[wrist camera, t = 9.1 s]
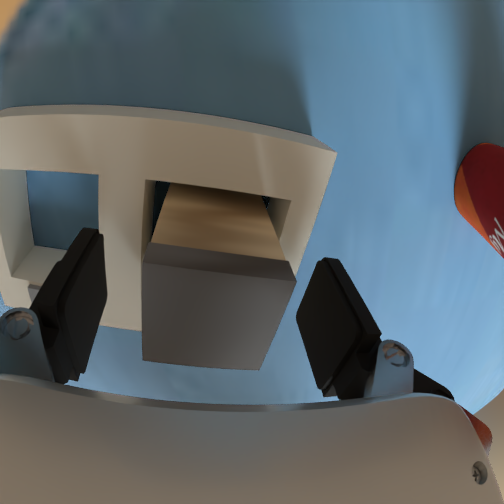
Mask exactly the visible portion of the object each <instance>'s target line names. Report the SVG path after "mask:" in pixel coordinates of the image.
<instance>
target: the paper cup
mask: <svg viewBox="0 0 504 504" xmlns="http://www.w3.org/2000/svg"><path fill="white" fill-rule="evenodd" d="M454 200H455V204H456V207H457V210H458V211H459V213H460V214H461V215H462V216H463V217H464V218H465V219H466V220H467V221H468V222H469V223H470V224H471V225H472V226H473V227H474V228H475V229H476V230H477V231H478V232H479V233H480V234H481V235H482V236H483V237H484V238H485V239H486V240H487V242H488V243H489V244H490V245H491V246H492V247H493V248H494V249H495V250H496V251H497V252H498V253H499V254H500V255H501V256H502V257H503V258H504V148H503V147H500V146H497V145H494V144H491V143H481V144H478V145H476V146H475V147H473V148H472V149H471V150H470V151H469V152H468V153H467V155H466V156H465V157H464V159H463V161H462V163H461V165H460V167H459V169H458V172H457V175H456V179H455V185H454Z"/></svg>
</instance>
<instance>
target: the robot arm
mask: <svg viewBox="0 0 504 504" xmlns="http://www.w3.org/2000/svg"><path fill="white" fill-rule="evenodd" d="M107 296H108V292H107V281H106V268H105V253H104V236H103V234H100V233H99V230H98V229H93V228H85V227H84V228H82V230H81V231H80V232H79V234H78V235H77V237H76V238H75V240H74V241H73V243H72V244H71V246H70V247H69V249H68V250H67V252H66V253H65V255H64V257H63V258H62V260H61V261H57V262H56V264H55V265H54V267H53V268H52V270H51V271H50V273H49V275H48V276H47V278H46V280H45V281H44V283H43V285H42V286H41V288H40V290H39V292H38V293H37V295H36V297H35V299H34V300H33V302H32V304H31V306H30V308H29V309H28V308H23V307H19V308H13V309H11V310H8V311H7V312H6V313H4V314H3V315H2V316H1V317H0V504H504V502H503V499H502V495H501V492H500V489H499V486H498V483H497V480H496V478H495V475H494V472H493V470H492V467H491V464H490V462H489V459H488V455H489V451H490V447H491V443H492V434H491V431H490V429H489V428H488V427H487V426H486V425H485V424H484V423H483V422H481V421H480V420H479V419H477V418H476V417H475V416H473V415H472V414H471V413H469V412H468V411H467V410H466V409H464V408H463V407H462V406H460V405H459V404H457V403H456V402H455V400H454V397H453V395H452V394H451V392H450V391H449V390H448V389H447V388H445V387H444V386H442V385H441V384H439V383H437V382H436V381H434V380H432V379H431V378H429V377H427V376H426V375H424V374H422V373H421V372H419V371H417V370H416V369H414V361H413V356H412V354H411V352H410V351H409V350H408V348H407V347H405V346H404V345H403V344H401V343H400V342H398V341H395V340H384V341H381V339H380V336H381V334H382V333H381V331H380V330H379V328H378V326H377V324H376V322H375V320H374V319H373V317H372V315H371V313H370V312H369V310H368V308H367V306H366V304H365V303H364V301H363V299H362V297H361V296H360V294H359V292H358V291H357V289H356V287H355V285H354V284H353V282H352V280H351V279H350V277H349V275H348V274H347V272H346V270H345V269H344V267H343V265H342V264H341V262H340V260H339V259H334V258H326V257H324V258H323V259H322V260H321V261H318V262H317V264H316V267H315V269H314V272H313V274H312V277H311V279H310V282H309V284H308V287H307V289H306V291H305V294H304V296H303V299H302V301H301V303H300V306H299V308H298V311H297V314H296V321H297V324H298V327H299V330H300V333H301V337H302V340H303V343H304V346H305V349H306V352H307V356H308V359H309V362H310V365H311V368H312V372H313V375H314V378H315V381H316V385H317V387H318V389H321V390H322V393H323V396H324V397H331V396H337V397H338V399H339V401H329V402H316V403H300V404H276V405H227V404H203V403H188V402H175V401H164V400H155V399H146V398H138V397H131V396H124V395H118V394H112V393H106V392H100V391H95V390H89V389H84V388H79V387H74V386H69V385H64V384H65V383H67V382H68V380H74V381H78V380H79V376H80V373H83V374H84V373H85V371H86V367H87V363H88V360H89V356H90V353H91V349H92V346H93V343H94V339H95V336H96V333H97V329H98V326H99V323H100V320H101V317H102V314H103V311H104V308H105V305H106V302H107Z"/></svg>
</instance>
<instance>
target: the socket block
mask: <svg viewBox="0 0 504 504" xmlns="http://www.w3.org/2000/svg"><path fill="white" fill-rule="evenodd" d="M336 156H337V152H336V151H334V150H333V149H331V148H330V147H328V146H327V145H325V144H324V143H322V142H321V141H319V140H318V139H316V138H315V137H313V136H310V135H306V134H302V133H298V132H294V131H290V130H285V129H281V128H277V127H272V126H267V125H263V124H258V123H253V122H248V121H242V120H237V119H231V118H225V117H219V116H213V115H206V114H199V113H192V112H184V111H176V110H167V109H157V108H145V107H132V106H114V105H38V106H22V107H9V108H6V109H3V110H0V292H1V295H2V297H3V300H4V303H5V305H6V306H10V307H14V308H19V307H23V308H28V309H29V308H30V306H31V304H32V302H33V300H34V299H35V297H36V295H37V293H38V292H39V290H40V288H41V286H42V285H43V283H44V281H45V280H46V278H47V276H48V275H49V273H50V271H51V270H52V268H53V267H54V265H55V264H56V262H57V261H61V260H62V258H63V257H64V255H65V253H66V252H67V250H63V249H56V248H49V247H42V246H35V245H34V239H33V233H32V226H31V219H30V211H29V201H28V190H27V176H26V170H37V171H55V172H71V173H85V174H97V175H99V188H98V211H99V233H100V234H103V236H104V253H105V268H106V281H107V292H108V296H107V302H106V305H105V308H104V311H103V314H102V317H101V320H100V323H99V325H102V326H108V327H115V328H121V329H128V330H135V331H142V316H141V298H142V262H143V259H144V255H145V252H146V249H147V246H148V242H151V239H152V223H153V209H154V197H155V186H156V180H157V181H166V182H174V183H182V184H189V185H197V186H204V187H211V188H218V189H225V190H232V191H238V192H245V193H251V194H257V195H263V196H269V197H270V200H269V204H268V207H267V212H268V215H269V217H270V220H271V222H272V225H273V227H274V230H275V233H276V235H277V238H278V240H279V243H280V246H281V248H282V251H283V254H284V256H285V259H286V261H289V263H290V265H291V268H292V271H293V273H294V276H296V273H297V271H298V268H299V265H300V263H301V260H302V257H303V254H304V251H305V249H306V246H307V243H308V240H309V237H310V234H311V232H312V229H313V226H314V223H315V220H316V217H317V214H318V211H319V208H320V205H321V202H322V199H323V196H324V193H325V190H326V187H327V184H328V181H329V178H330V175H331V172H332V169H333V165H334V162H335V159H336Z"/></svg>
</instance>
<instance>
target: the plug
mask: <svg viewBox="0 0 504 504" xmlns="http://www.w3.org/2000/svg"><path fill="white" fill-rule="evenodd" d="M296 282H297V281H296V278H295V276H294V273H293V271H292V268H291V265H290V263H289V261H286V259H285V256H284V254H283V251H282V248H281V246H280V243H279V240H278V238H277V235H276V233H275V230H274V227H273V225H272V222H271V220H270V217H269V215H268V212H267V209H266V207H265V204H264V202H263V199H262V197H261V195H257V194H251V193H245V192H238V191H232V190H225V189H218V188H211V187H204V186H197V185H189V184H182V183H174V182H171V183H170V186H169V189H168V192H167V194H166V197H165V200H164V203H163V206H162V209H161V212H160V215H159V218H158V221H157V224H156V227H155V230H154V233H153V237H152V240H151V242H148V246H147V249H146V252H145V255H144V259H143V262H142V298H141V316H142V356H143V361H151V362H158V363H167V364H175V365H185V366H196V367H207V368H221V369H238V370H260V367H261V365H262V363H263V361H264V358H265V356H266V354H267V352H268V349H269V347H270V345H271V342H272V340H273V338H274V336H275V333H276V331H277V329H278V326H279V324H280V321H281V319H282V317H283V314H284V312H285V309H286V307H287V305H288V302H289V300H290V297H291V295H292V292H293V290H294V287H295V285H296Z"/></svg>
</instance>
